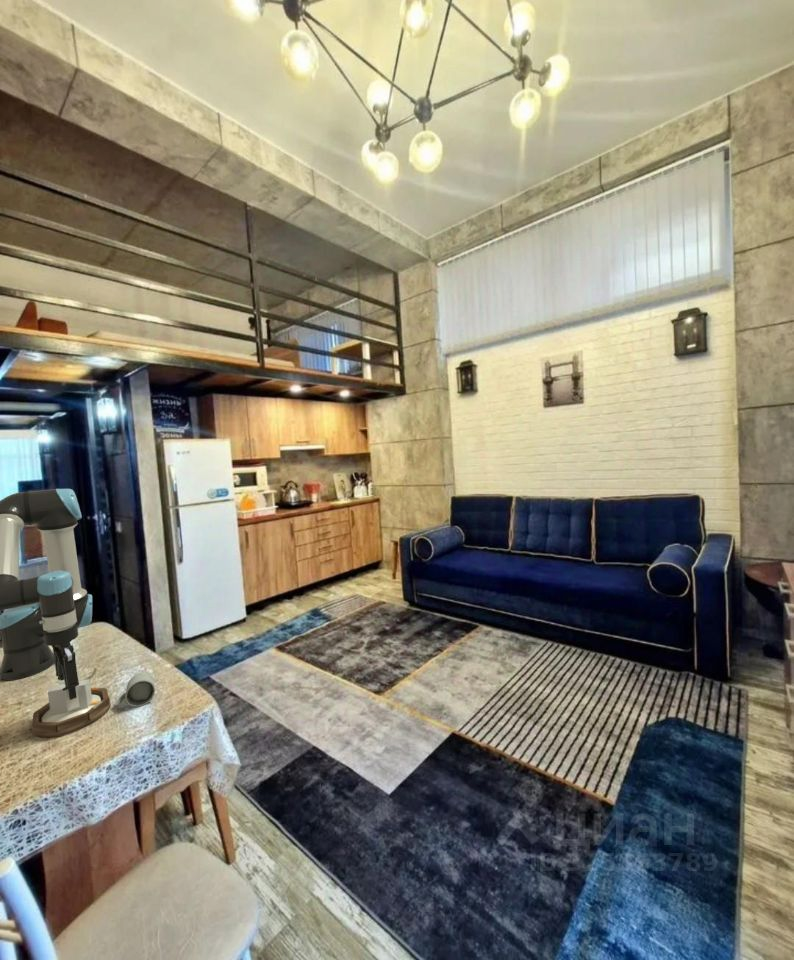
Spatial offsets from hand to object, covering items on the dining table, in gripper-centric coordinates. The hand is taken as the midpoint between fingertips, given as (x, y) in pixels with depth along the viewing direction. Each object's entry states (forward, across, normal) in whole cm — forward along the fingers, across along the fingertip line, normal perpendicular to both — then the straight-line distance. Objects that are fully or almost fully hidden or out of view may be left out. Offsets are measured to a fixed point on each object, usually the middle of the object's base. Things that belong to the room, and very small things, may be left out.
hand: (70, 704), depth 122 cm
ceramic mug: (+4, +8, +14) cm, 17 cm away
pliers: (+5, -21, +7) cm, 22 cm away
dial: (+2, 0, 0) cm, 2 cm away
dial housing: (+4, 0, 0) cm, 4 cm away
